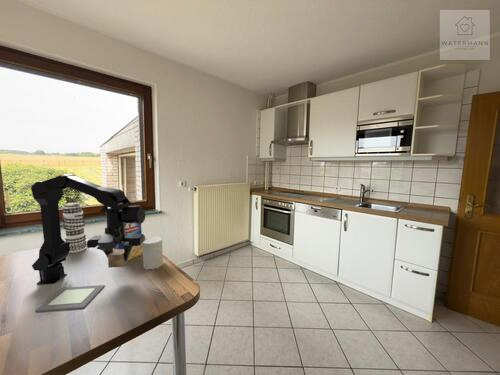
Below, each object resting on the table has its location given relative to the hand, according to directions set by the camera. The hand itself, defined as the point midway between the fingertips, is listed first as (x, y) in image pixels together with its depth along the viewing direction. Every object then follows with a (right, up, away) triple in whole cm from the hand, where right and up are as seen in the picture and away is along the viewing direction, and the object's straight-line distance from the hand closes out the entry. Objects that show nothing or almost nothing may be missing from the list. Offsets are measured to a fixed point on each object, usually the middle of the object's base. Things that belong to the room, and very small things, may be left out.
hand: (118, 261), depth 82 cm
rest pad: (-10, -9, -9) cm, 17 cm away
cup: (+7, -7, +14) cm, 17 cm away
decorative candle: (-41, -4, +30) cm, 51 cm away
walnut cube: (0, -1, 0) cm, 1 cm away
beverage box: (-9, -6, +22) cm, 24 cm away
